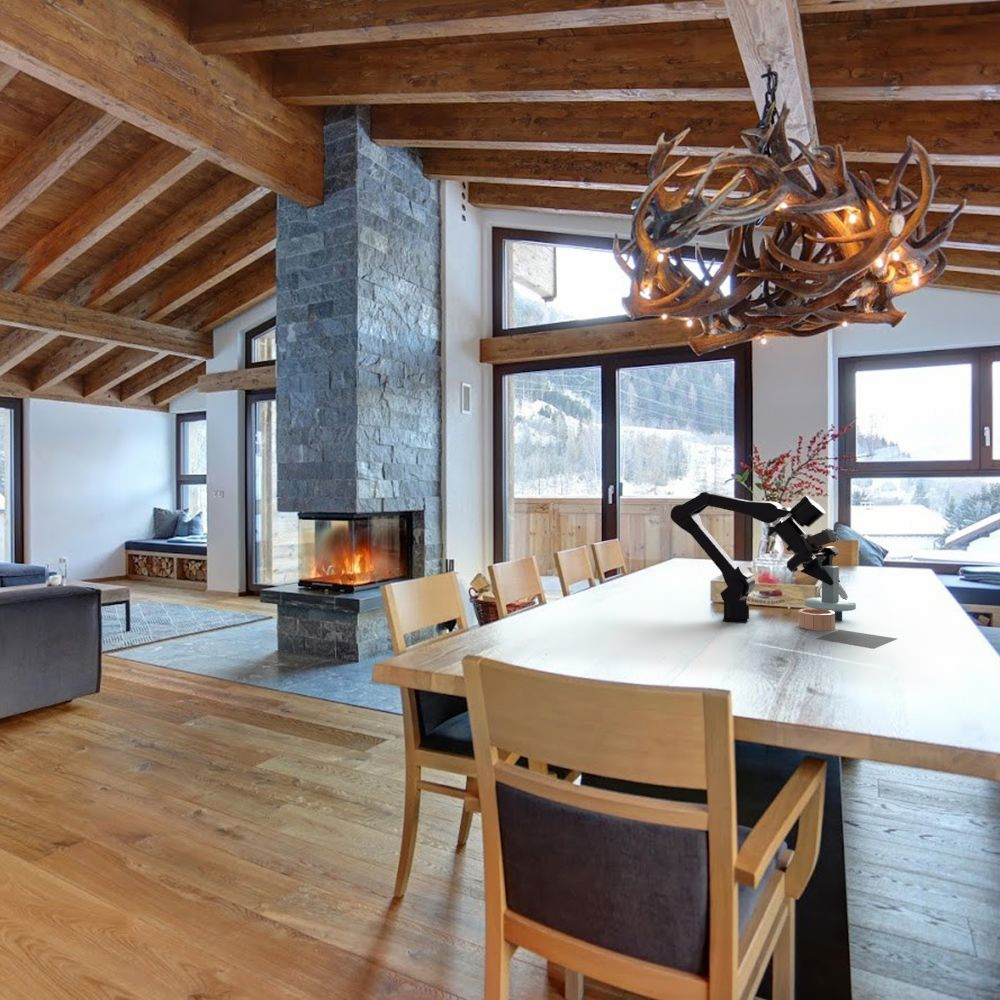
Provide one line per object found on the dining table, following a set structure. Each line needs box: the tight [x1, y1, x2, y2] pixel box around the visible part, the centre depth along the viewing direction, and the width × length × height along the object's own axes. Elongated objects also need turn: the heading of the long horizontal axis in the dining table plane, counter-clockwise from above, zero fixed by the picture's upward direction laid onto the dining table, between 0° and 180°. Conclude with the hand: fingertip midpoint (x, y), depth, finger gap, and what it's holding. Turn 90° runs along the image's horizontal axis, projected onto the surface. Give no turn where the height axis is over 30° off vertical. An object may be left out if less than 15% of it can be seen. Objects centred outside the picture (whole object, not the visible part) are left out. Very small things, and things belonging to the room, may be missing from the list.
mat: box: [814, 629, 898, 650], centre depth 169 cm, size 14×14×1 cm
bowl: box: [798, 607, 836, 632], centre depth 183 cm, size 9×9×4 cm
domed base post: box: [804, 565, 857, 612], centre depth 177 cm, size 12×12×10 cm
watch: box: [815, 583, 849, 622], centre depth 193 cm, size 6×8×11 cm
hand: (835, 583), depth 176 cm, fingers closed on domed base post, 3 cm apart
